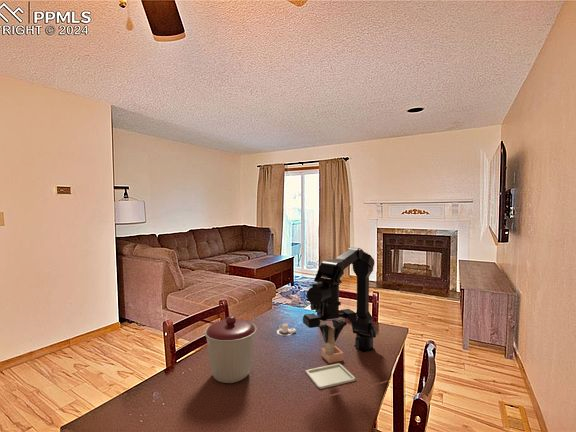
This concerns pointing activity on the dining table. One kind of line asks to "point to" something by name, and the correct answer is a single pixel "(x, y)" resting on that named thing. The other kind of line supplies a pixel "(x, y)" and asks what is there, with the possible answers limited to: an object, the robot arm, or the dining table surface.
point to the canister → (230, 348)
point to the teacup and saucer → (286, 329)
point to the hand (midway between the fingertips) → (330, 342)
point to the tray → (330, 375)
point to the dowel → (330, 341)
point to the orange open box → (333, 358)
